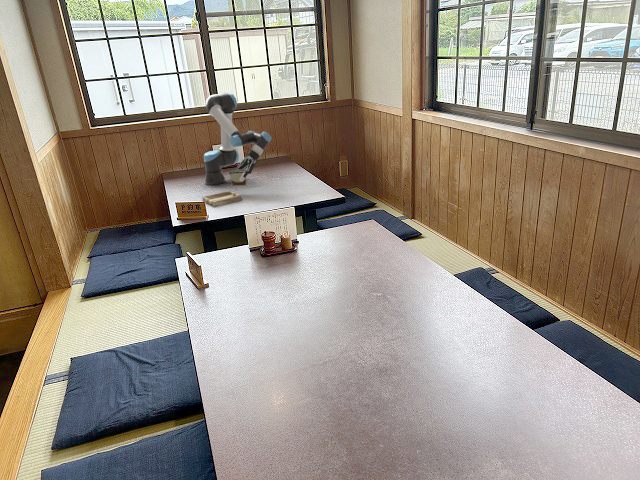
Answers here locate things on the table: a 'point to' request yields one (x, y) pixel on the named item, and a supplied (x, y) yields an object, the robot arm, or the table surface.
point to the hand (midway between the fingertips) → (237, 179)
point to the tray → (222, 198)
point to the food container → (237, 177)
